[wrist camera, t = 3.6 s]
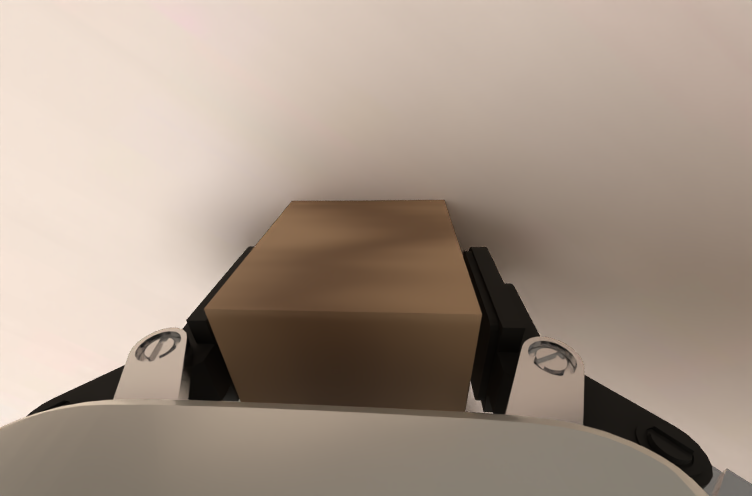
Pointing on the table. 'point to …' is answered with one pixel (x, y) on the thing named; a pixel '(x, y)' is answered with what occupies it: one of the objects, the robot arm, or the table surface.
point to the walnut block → (352, 309)
